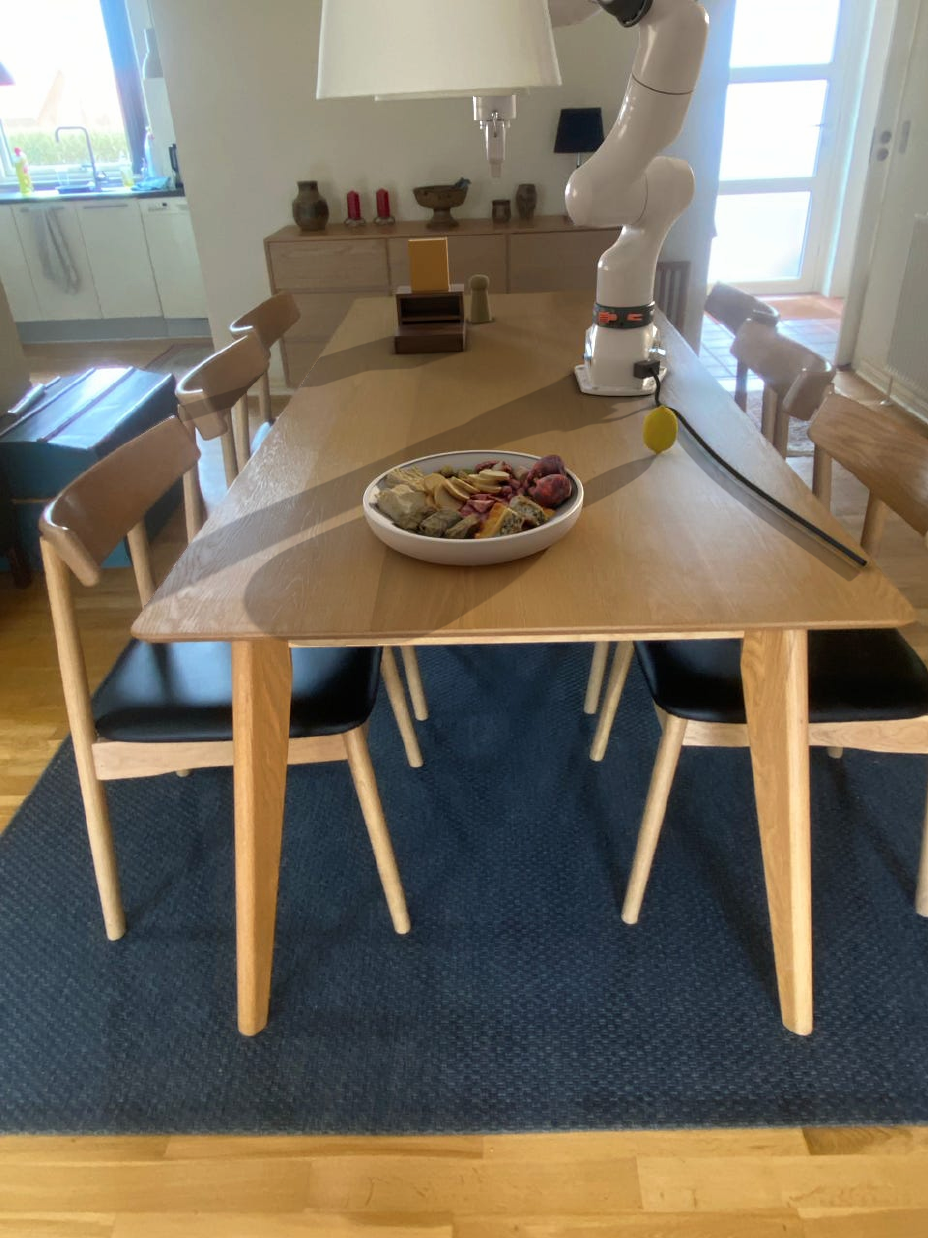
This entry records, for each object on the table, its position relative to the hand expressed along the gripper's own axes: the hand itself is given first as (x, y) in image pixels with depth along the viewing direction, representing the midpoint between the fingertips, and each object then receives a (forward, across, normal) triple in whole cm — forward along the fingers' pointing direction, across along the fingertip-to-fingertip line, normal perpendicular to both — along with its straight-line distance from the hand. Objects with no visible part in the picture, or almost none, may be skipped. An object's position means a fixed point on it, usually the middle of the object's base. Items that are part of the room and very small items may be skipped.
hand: (496, 183), depth 181 cm
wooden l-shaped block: (+33, -1, +16) cm, 37 cm away
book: (+22, +4, +16) cm, 28 cm away
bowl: (+33, -101, +4) cm, 106 cm away
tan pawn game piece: (+33, +18, +5) cm, 38 cm away
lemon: (+33, -78, -25) cm, 88 cm away
